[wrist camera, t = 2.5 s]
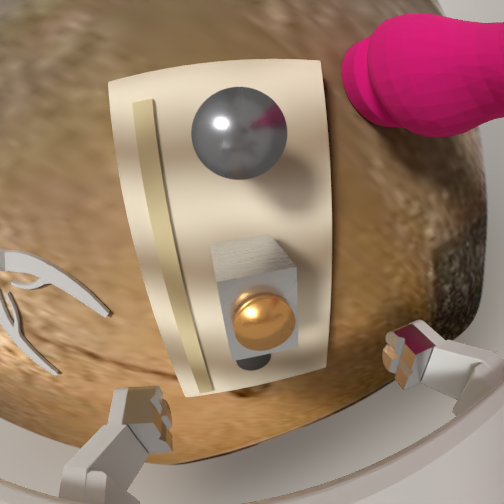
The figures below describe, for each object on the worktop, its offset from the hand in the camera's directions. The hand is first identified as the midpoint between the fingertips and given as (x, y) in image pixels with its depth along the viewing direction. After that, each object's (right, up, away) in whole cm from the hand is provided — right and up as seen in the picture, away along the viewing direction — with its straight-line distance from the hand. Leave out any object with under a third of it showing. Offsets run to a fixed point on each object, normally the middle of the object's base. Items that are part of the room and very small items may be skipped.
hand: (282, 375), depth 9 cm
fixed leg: (-2, +10, +4) cm, 11 cm away
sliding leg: (-2, +3, +7) cm, 8 cm away
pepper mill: (+7, +15, +6) cm, 18 cm away
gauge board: (-2, +4, +8) cm, 9 cm away
